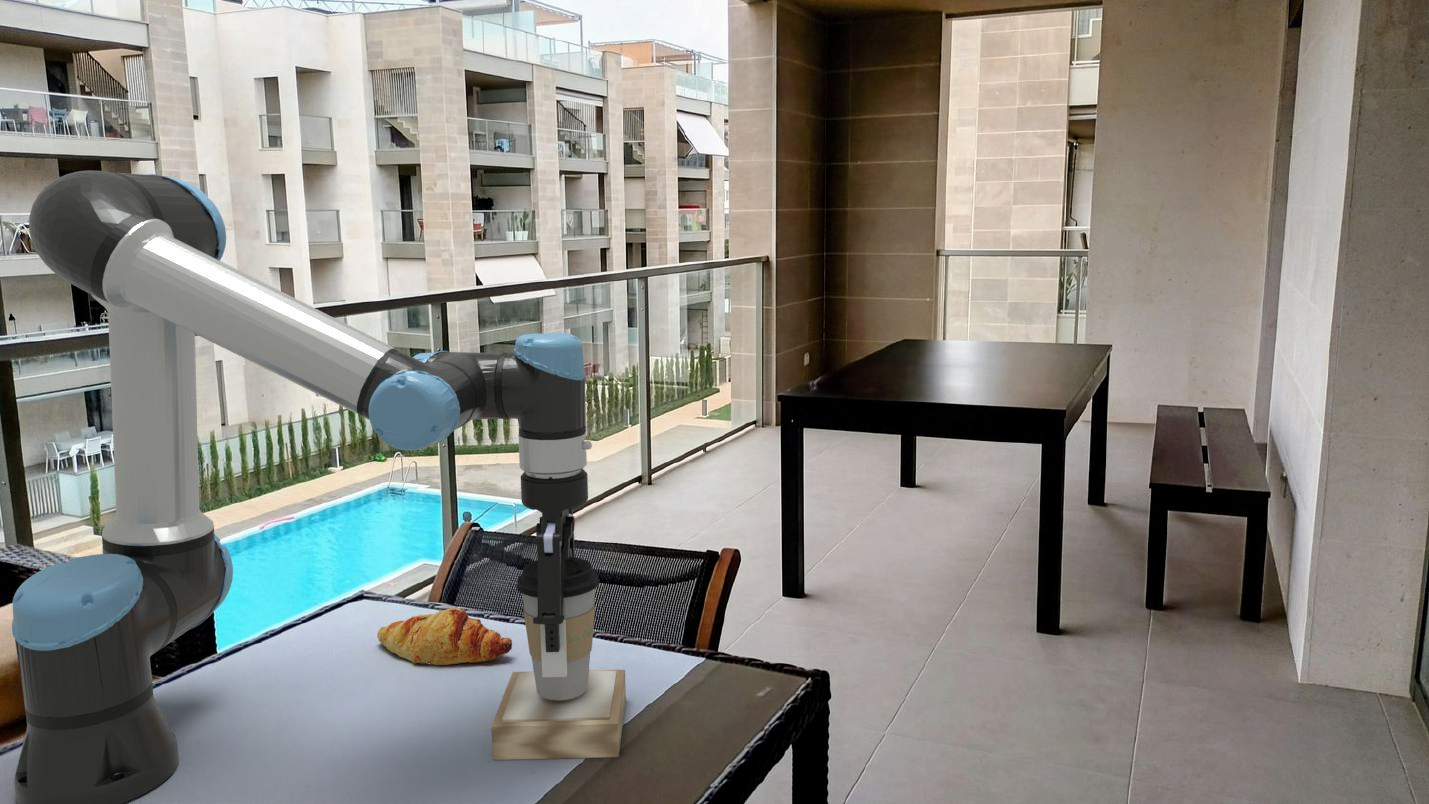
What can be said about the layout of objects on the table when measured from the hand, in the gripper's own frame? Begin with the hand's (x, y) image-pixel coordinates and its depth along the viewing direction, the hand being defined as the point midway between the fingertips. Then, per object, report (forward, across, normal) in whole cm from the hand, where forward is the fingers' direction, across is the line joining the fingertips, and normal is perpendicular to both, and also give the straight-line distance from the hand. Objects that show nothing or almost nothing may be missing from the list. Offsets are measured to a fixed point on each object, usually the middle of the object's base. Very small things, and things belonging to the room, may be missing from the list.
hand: (560, 656), depth 118 cm
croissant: (+9, +22, +19) cm, 31 cm away
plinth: (+9, 0, 0) cm, 9 cm away
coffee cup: (+4, 0, 0) cm, 4 cm away
